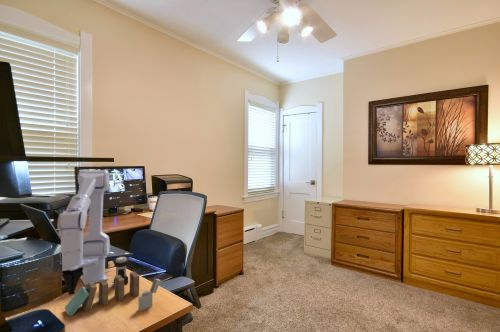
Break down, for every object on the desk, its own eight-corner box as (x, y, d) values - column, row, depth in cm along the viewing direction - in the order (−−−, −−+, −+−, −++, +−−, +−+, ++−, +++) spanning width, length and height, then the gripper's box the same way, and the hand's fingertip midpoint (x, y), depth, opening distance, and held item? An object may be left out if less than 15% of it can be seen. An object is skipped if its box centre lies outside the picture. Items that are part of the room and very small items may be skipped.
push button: (111, 289, 98) (111, 262, 98) (107, 284, 102) (107, 258, 102) (130, 284, 102) (130, 258, 102) (125, 280, 106) (126, 255, 106)
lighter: (141, 311, 84) (141, 286, 84) (138, 309, 85) (138, 284, 85) (160, 302, 90) (160, 278, 90) (157, 300, 91) (157, 277, 91)
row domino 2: (98, 300, 90) (99, 280, 90) (103, 299, 91) (104, 278, 91) (102, 306, 86) (102, 285, 86) (107, 305, 87) (108, 283, 87)
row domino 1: (81, 304, 87) (88, 282, 88) (87, 304, 88) (93, 282, 89) (85, 310, 83) (91, 287, 84) (90, 310, 84) (97, 287, 85)
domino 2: (129, 291, 97) (129, 272, 97) (134, 290, 98) (134, 271, 98) (134, 296, 93) (134, 276, 93) (139, 295, 94) (139, 275, 94)
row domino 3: (114, 296, 93) (115, 276, 93) (119, 294, 94) (119, 274, 94) (119, 301, 90) (119, 280, 90) (124, 300, 91) (124, 279, 91)
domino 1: (64, 307, 83) (81, 286, 87) (69, 309, 84) (86, 288, 87) (67, 314, 80) (85, 291, 83) (71, 316, 81) (89, 294, 84)
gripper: (43, 258, 75) (42, 306, 75) (101, 248, 84) (100, 290, 84) (41, 252, 80) (40, 297, 80) (96, 243, 90) (95, 283, 90)
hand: (71, 293), depth 83 cm, fingers closed
